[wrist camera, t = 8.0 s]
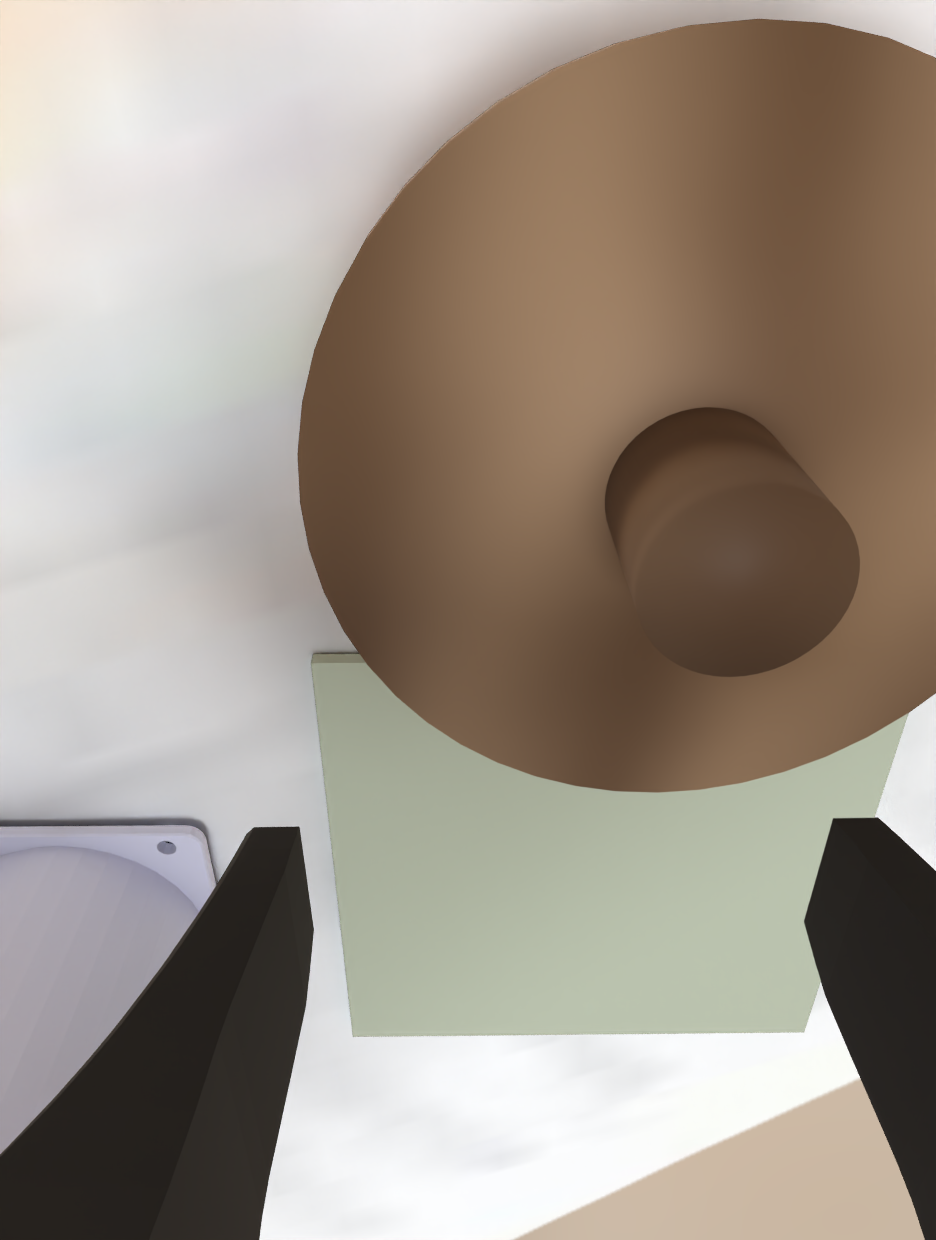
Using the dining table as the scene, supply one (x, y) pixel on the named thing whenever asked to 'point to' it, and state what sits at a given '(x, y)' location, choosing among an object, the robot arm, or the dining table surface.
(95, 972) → the robot arm
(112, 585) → the dining table surface
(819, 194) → the walnut lid
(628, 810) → the rubber mat
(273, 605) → the dining table surface
